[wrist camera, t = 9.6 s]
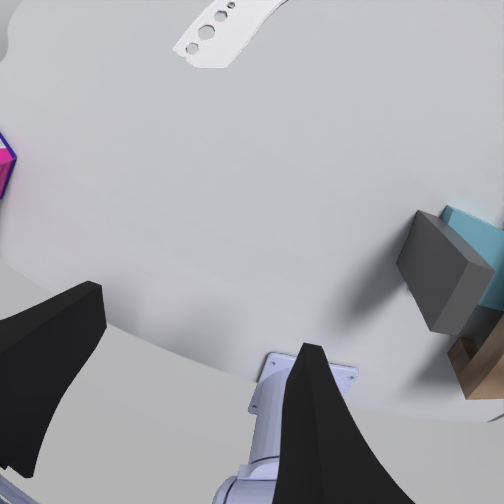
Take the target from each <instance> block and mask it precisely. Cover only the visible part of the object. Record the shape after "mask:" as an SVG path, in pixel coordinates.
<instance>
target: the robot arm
mask: <svg viewBox="0 0 504 504" xmlns="http://www.w3.org/2000/svg"><path fill="white" fill-rule="evenodd" d="M106 328H107V325H106V318H105V311H104V303H103V294H102V285H99V284H96V283H94V282H91V281H86V282H84V283H81V284H79V285H77V286H75V287H73V288H71V289H69V290H66V291H64V292H62V293H60V294H58V295H56V296H54V297H52V298H50V299H48V300H46V301H44V302H42V303H40V304H38V305H36V306H33V307H31V308H29V309H27V310H24V311H22V312H20V313H18V314H16V315H13V316H11V317H8V318H6V319H3V320H0V467H1V468H3V469H4V470H6V468H7V466H10V467H11V468H12V469H13V470H15V471H16V472H18V473H19V474H20V475H22V476H23V477H24V478H31V477H33V474H34V469H35V465H36V461H37V457H38V454H39V451H40V448H41V445H42V442H43V439H44V436H45V433H46V431H47V428H48V426H49V423H50V421H51V419H52V417H53V414H54V412H55V410H56V408H57V406H58V404H59V402H60V400H61V398H62V397H63V395H64V393H65V392H66V390H67V388H68V387H69V386H70V384H71V383H72V381H73V380H74V378H75V377H76V375H77V374H78V373H79V371H80V370H81V368H82V367H83V366H84V364H85V363H86V361H87V360H88V358H89V357H90V356H91V354H92V353H93V351H94V350H95V348H96V347H97V345H98V343H99V341H100V339H101V337H102V335H103V333H104V331H105V330H106ZM271 361H272V362H271ZM358 374H359V373H358V369H357V368H352V367H346V366H340V365H334V364H329V363H328V361H327V358H326V356H325V353H324V350H323V348H322V346H318V345H314V344H309V343H303V345H302V347H301V349H300V352H299V354H298V356H297V357H293V356H288V355H284V354H279V353H270V354H269V355H268V357H267V360H266V363H265V366H264V368H263V371H262V374H261V376H260V379H259V382H258V384H257V387H256V390H255V392H254V395H253V397H252V400H251V403H250V405H249V408H248V412H249V413H251V414H256V415H257V419H256V425H255V430H254V436H253V442H252V447H251V452H250V458H249V464H248V465H240V467H239V471H238V476H231V477H229V478H228V479H226V480H225V482H224V483H223V484H222V485H221V486H220V487H219V489H218V490H217V492H216V494H215V496H214V499H213V502H212V504H415V503H414V502H413V501H412V500H411V499H410V498H409V497H408V496H407V495H406V494H405V493H404V492H403V490H402V489H401V488H400V487H399V486H398V485H397V484H396V483H395V481H394V480H393V479H392V478H391V476H390V475H389V474H388V472H387V471H386V470H385V469H384V467H383V466H382V465H381V464H380V462H379V461H378V459H377V458H376V456H375V455H374V454H373V452H372V451H371V449H370V448H369V446H368V444H367V443H366V441H365V439H364V438H363V436H362V434H361V433H360V431H359V429H358V427H357V426H356V424H355V422H354V420H353V418H352V416H351V414H350V412H349V410H348V408H347V406H346V404H345V401H344V399H343V396H344V394H345V393H346V392H347V390H348V389H349V387H350V386H351V385H352V383H353V382H354V380H355V379H356V377H357V376H358ZM350 376H351V377H350ZM0 494H1V495H2V496H3V497H4V498H6V499H7V500H8V501H9V502H11V503H12V504H39V503H38V502H36V501H35V500H33V499H32V498H30V497H29V496H28V495H26V494H25V493H24V492H22V491H21V490H20V489H18V488H17V487H15V486H14V485H13V484H12V483H11V482H9V481H8V480H7V479H6V478H4V477H3V476H2V475H1V474H0ZM0 504H8V503H7V502H5V501H4V500H2V499H1V498H0Z"/></svg>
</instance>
